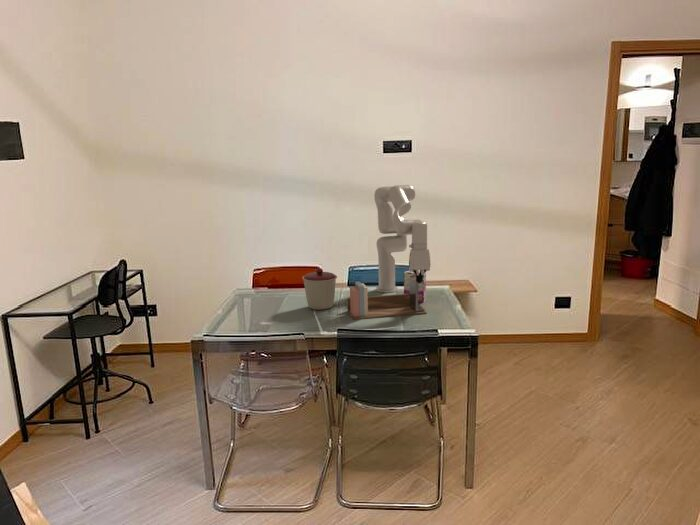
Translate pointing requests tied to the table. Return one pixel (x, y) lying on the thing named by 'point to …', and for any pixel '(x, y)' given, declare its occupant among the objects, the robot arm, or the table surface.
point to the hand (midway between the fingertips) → (419, 282)
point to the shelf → (387, 306)
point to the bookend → (414, 296)
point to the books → (359, 299)
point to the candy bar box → (420, 285)
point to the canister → (320, 289)
